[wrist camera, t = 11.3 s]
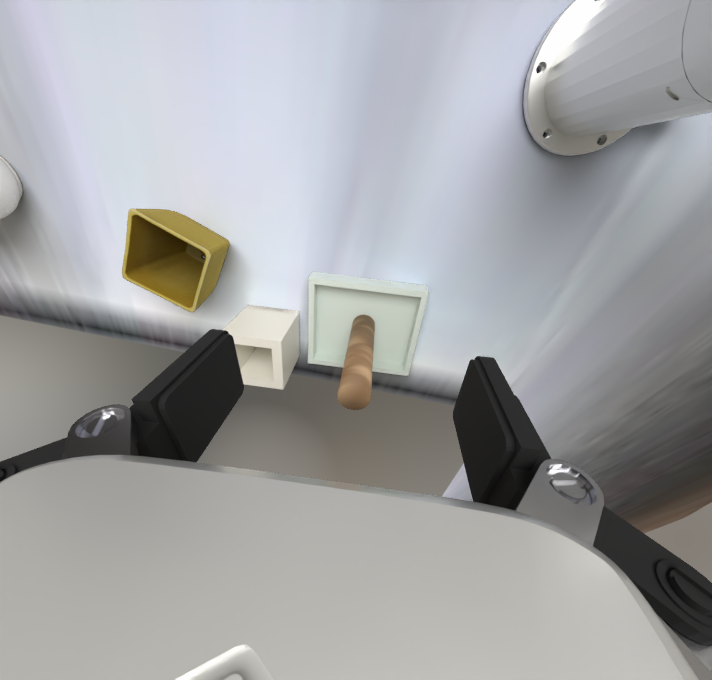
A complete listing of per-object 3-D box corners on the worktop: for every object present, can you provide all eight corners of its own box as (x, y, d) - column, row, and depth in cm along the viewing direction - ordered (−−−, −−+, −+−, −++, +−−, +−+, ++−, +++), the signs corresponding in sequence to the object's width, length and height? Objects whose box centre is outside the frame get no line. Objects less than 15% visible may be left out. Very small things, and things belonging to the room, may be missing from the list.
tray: (426, 285, 39) (428, 292, 36) (406, 365, 46) (408, 376, 43) (313, 271, 39) (308, 277, 37) (311, 353, 46) (307, 362, 44)
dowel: (376, 316, 41) (372, 387, 27) (373, 335, 43) (368, 411, 29) (353, 313, 41) (338, 382, 27) (351, 333, 43) (336, 407, 29)
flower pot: (228, 289, 42) (192, 314, 34) (170, 258, 40) (119, 278, 32) (246, 236, 37) (211, 252, 30) (183, 199, 36) (128, 206, 28)
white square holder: (299, 311, 42) (281, 341, 35) (300, 354, 47) (283, 389, 39) (248, 304, 43) (218, 333, 35) (253, 348, 47) (227, 382, 39)
